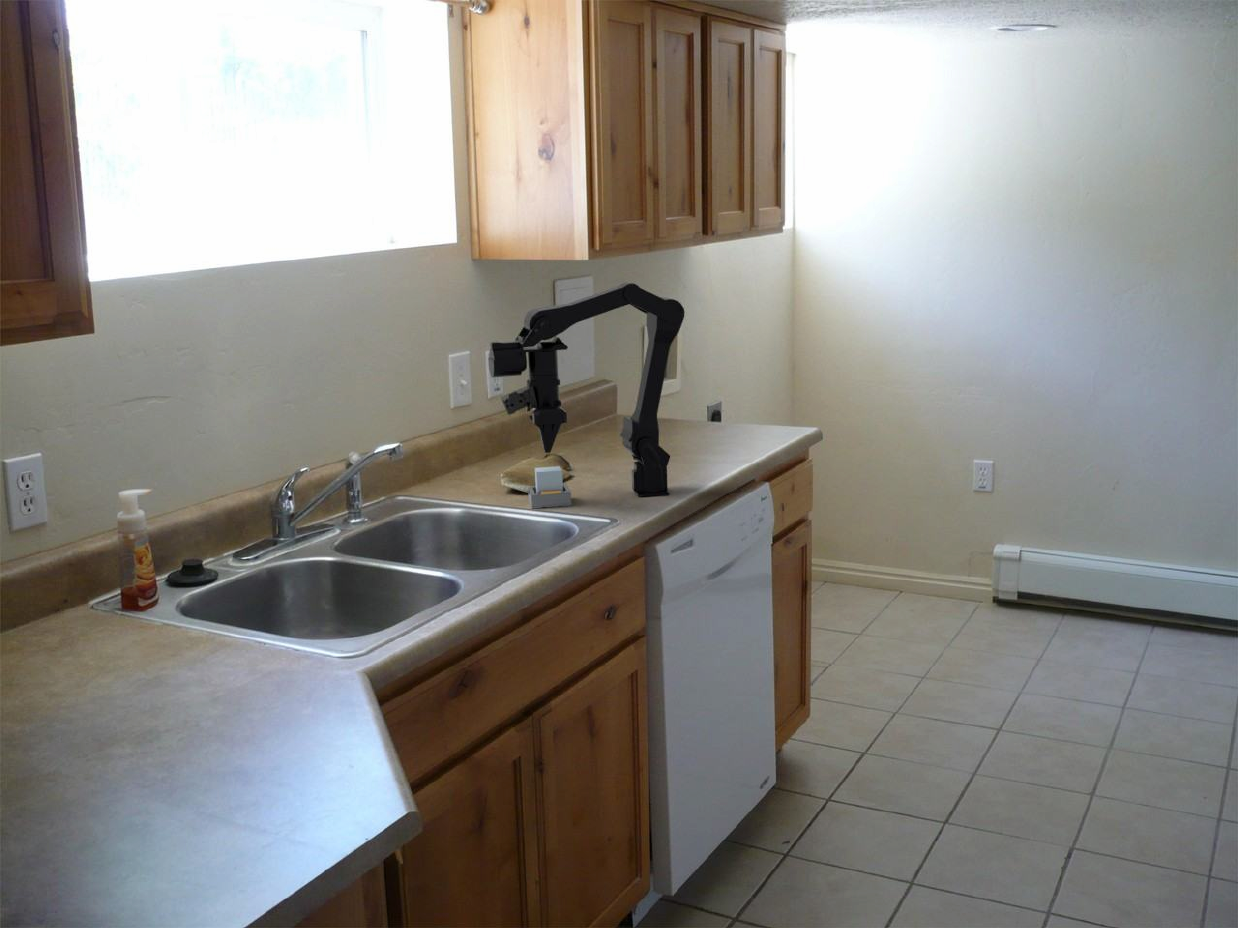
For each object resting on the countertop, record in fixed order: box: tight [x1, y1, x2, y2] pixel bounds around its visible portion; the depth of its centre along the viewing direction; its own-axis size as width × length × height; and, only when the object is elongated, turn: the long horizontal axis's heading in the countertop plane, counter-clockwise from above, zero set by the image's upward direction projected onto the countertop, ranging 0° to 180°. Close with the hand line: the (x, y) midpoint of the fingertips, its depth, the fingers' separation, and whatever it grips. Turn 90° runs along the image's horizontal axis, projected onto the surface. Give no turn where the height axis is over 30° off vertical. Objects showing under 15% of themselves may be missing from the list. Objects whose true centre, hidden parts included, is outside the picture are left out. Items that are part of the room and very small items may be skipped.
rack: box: [527, 483, 572, 509], centre depth 241 cm, size 8×7×3 cm
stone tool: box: [500, 453, 572, 494], centre depth 261 cm, size 12×4×25 cm
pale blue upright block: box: [535, 466, 564, 493], centre depth 241 cm, size 5×4×6 cm
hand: (547, 452), depth 240 cm, fingers closed
